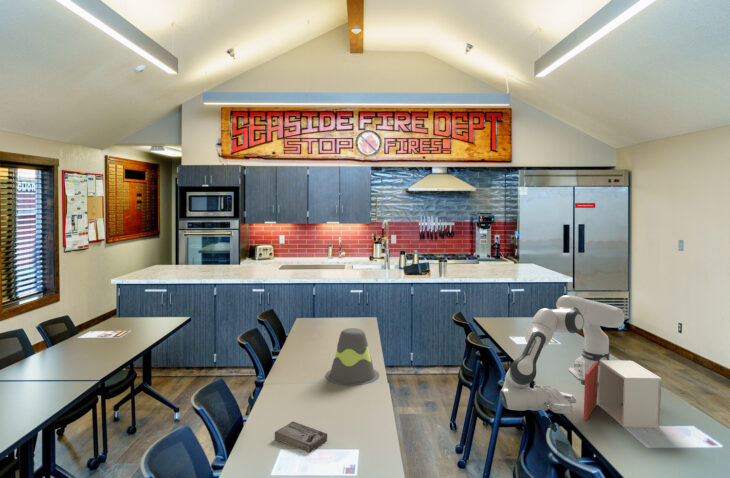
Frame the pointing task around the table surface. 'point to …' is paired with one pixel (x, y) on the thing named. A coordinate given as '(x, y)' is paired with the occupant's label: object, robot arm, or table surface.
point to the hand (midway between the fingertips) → (574, 399)
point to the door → (590, 389)
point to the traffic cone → (352, 360)
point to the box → (301, 436)
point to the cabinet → (629, 393)
